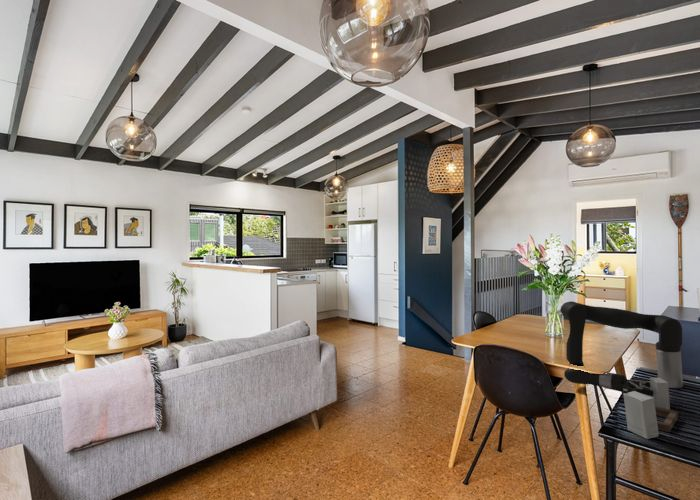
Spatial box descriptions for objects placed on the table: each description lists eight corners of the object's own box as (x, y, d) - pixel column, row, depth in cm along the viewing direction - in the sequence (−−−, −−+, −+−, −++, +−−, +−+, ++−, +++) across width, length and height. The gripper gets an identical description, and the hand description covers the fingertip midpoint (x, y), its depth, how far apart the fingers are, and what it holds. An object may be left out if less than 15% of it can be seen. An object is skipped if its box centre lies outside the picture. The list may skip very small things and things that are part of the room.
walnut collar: (636, 407, 166) (636, 402, 166) (678, 417, 155) (677, 411, 155) (625, 420, 157) (625, 414, 156) (669, 432, 146) (668, 426, 146)
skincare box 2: (670, 410, 161) (668, 382, 161) (659, 410, 162) (657, 382, 162) (661, 404, 167) (659, 377, 167) (650, 404, 168) (648, 377, 168)
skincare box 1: (659, 436, 144) (656, 398, 143) (646, 440, 142) (643, 401, 142) (637, 426, 152) (635, 389, 151) (625, 429, 150) (622, 392, 150)
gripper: (606, 378, 173) (650, 386, 161) (617, 369, 182) (659, 376, 170) (607, 394, 174) (652, 404, 161) (618, 384, 183) (660, 393, 170)
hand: (655, 390), depth 165 cm, fingers open, 8 cm apart
